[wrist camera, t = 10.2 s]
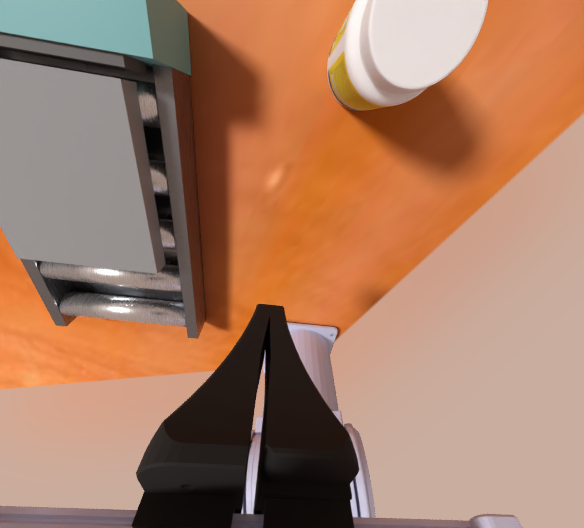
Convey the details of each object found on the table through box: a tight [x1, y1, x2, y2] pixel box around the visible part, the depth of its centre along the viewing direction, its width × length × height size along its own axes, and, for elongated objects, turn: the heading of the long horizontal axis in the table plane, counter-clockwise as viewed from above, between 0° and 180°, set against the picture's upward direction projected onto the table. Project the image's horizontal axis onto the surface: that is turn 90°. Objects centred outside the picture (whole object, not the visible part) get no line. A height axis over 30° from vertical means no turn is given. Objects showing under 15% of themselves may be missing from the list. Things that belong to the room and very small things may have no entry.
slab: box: [0, 58, 166, 274], centre depth 15 cm, size 12×10×1 cm
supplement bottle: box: [327, 0, 488, 111], centre depth 12 cm, size 5×5×8 cm
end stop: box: [0, 0, 191, 76], centre depth 12 cm, size 4×14×5 cm, turn 82°
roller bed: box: [0, 49, 206, 338], centre depth 19 cm, size 22×14×3 cm, turn 172°
